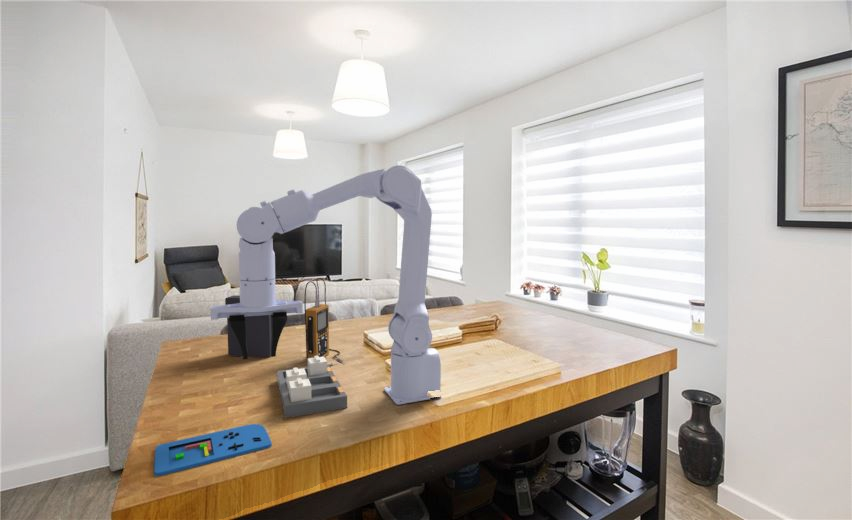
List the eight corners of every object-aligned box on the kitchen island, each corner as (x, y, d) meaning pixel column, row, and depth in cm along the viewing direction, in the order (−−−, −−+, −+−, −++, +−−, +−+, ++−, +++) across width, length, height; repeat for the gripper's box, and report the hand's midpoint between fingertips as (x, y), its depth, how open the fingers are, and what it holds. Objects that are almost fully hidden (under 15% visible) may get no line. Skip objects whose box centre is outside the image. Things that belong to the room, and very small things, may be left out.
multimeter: (338, 371, 95) (337, 284, 93) (298, 368, 97) (296, 282, 95) (361, 352, 109) (360, 276, 107) (325, 349, 111) (324, 275, 109)
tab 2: (308, 396, 78) (308, 376, 78) (311, 404, 75) (311, 382, 75) (289, 399, 77) (288, 378, 77) (291, 407, 74) (290, 385, 73)
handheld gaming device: (272, 442, 63) (153, 472, 55) (272, 449, 63) (154, 480, 55) (262, 419, 70) (155, 443, 62) (262, 426, 70) (155, 450, 62)
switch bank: (328, 374, 93) (328, 364, 93) (347, 407, 76) (347, 395, 76) (277, 381, 89) (277, 370, 89) (285, 418, 72) (284, 405, 72)
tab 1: (304, 385, 84) (304, 365, 83) (306, 391, 80) (306, 371, 80) (286, 387, 82) (285, 368, 82) (287, 394, 79) (287, 374, 79)
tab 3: (324, 372, 91) (324, 354, 91) (327, 377, 88) (327, 359, 88) (307, 374, 90) (307, 356, 89) (310, 380, 87) (310, 361, 86)
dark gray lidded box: (276, 353, 107) (275, 295, 106) (268, 358, 103) (267, 298, 102) (236, 351, 109) (234, 294, 107) (226, 356, 104) (224, 297, 103)
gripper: (298, 274, 78) (299, 345, 79) (211, 277, 72) (214, 354, 73) (303, 279, 71) (304, 356, 73) (208, 283, 66) (211, 367, 67)
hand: (259, 356), depth 72 cm, fingers open, 4 cm apart
